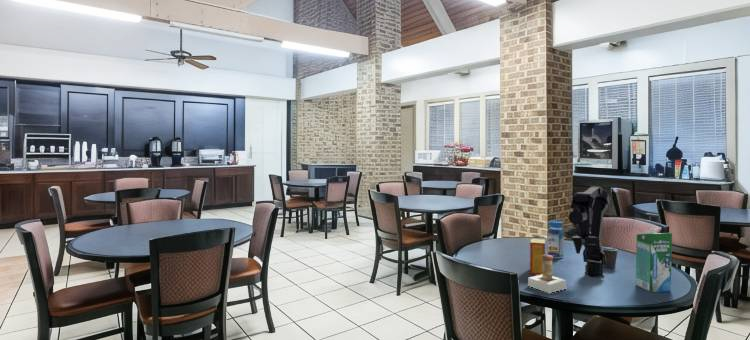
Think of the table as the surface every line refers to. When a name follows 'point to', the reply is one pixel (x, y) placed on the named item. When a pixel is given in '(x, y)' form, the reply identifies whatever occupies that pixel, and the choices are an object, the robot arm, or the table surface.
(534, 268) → the baking soda box
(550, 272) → the tan cylindrical container
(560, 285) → the socket
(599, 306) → the table surface
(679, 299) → the table surface
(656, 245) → the milk carton
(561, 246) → the beverage bottle
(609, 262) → the coffee cup
